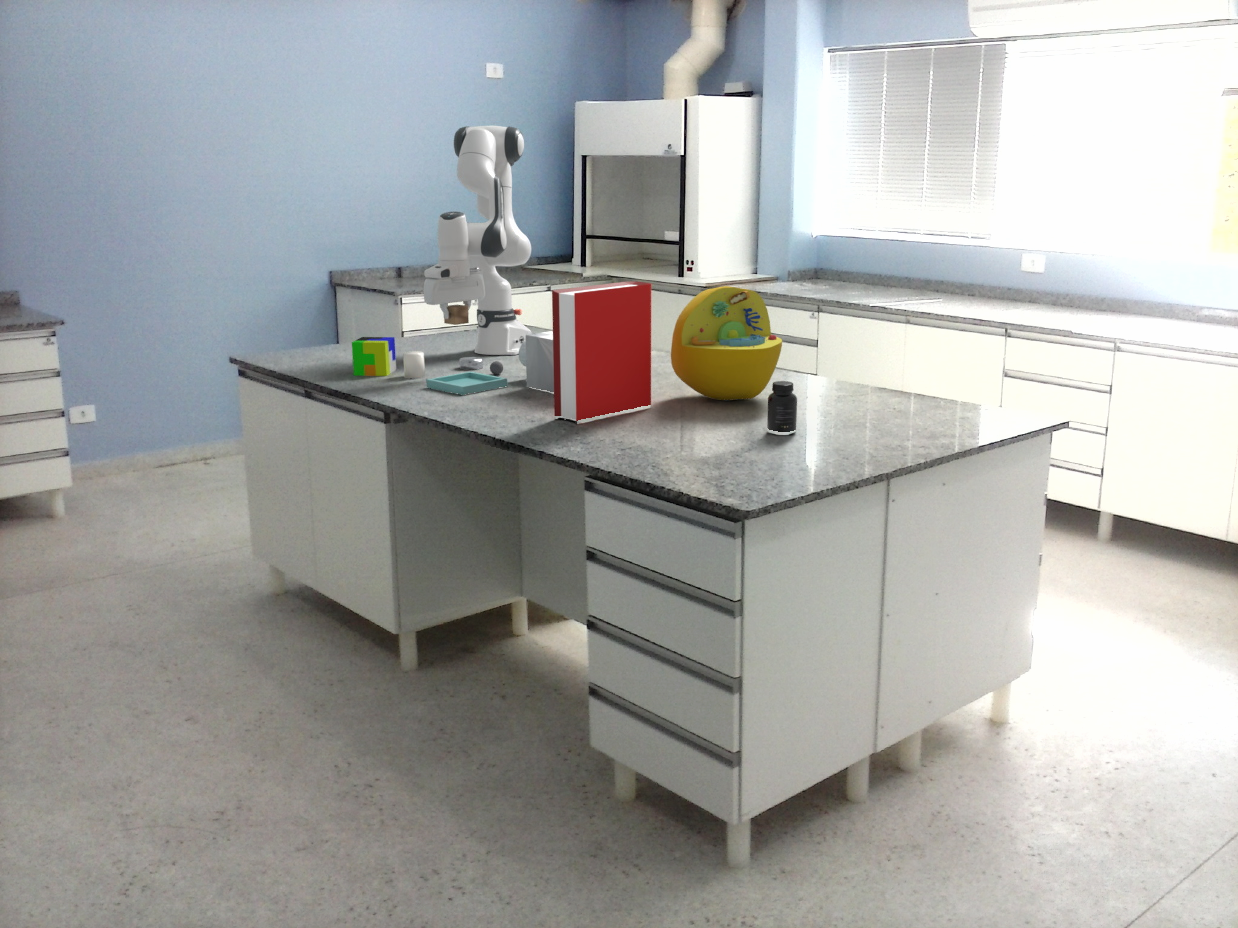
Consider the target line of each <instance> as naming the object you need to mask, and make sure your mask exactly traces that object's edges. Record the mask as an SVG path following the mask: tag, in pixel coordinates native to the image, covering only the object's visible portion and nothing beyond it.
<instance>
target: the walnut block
mask: <svg viewBox="0 0 1238 928" xmlns="http://www.w3.org/2000/svg"><path fill="white" fill-rule="evenodd" d="M447 309H448V312H450V313H451V319H444V318H443V321H444V322H443V323H444V324H446V325H447V324H448V325H454V326H458V325H464V324H470V323H469V319H470V318H469V315H468V313H469V310H468V306H465V304H450V305H449V304H448V307H447Z"/></svg>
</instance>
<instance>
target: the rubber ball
mask: <svg viewBox="0 0 1238 928" xmlns="http://www.w3.org/2000/svg"><path fill="white" fill-rule="evenodd" d="M489 371H490V372H491V374H492V375H494V376H498V375H501V374H502V373H503V371H504V365H503V363H502V362H500V361H498V360H496V361H493V362H491V364H489Z"/></svg>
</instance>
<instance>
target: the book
mask: <svg viewBox="0 0 1238 928" xmlns="http://www.w3.org/2000/svg"><path fill="white" fill-rule="evenodd" d="M551 302H552V304H551V305H552V308H551V310H552V311H551V312H552V316H551V317H552V331H553V367H554V394H553V400H554V401H553V403H554V404H553V410H554V413H553V414H554V416H563V417H566V418H572V419H576V421H578V420H581V419H586V418H592V417H595V416H600V415H605V414H609V413H615V412H620V411H623V410H628V409H634V408H637V407H641V406H648V405H651V406H652V282H645V281H634V280H633V281H629V280H628V281H621V282H613V283H612V282H611V283H604V284H597V285H596V284H595V285H587V286H579V287H578V286H577V287H570V288H561V289H552V290H551Z"/></svg>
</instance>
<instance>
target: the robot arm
mask: <svg viewBox="0 0 1238 928" xmlns="http://www.w3.org/2000/svg"><path fill="white" fill-rule="evenodd" d="M453 150H454V153H455V155H456V156H457V158H458V160H457V165H456V176H457V179H458V181H459V182H460V184H461V185H462V186H463V187H464V188H465V189H466V190H467V191H469V192H472V193H474V194H476V209H477V212H478V213H479V214H480V216H481V217H483V218H484V219H485V220H487V221H485V222H467V218H466V214H465V213H464V212H461V211H446V212H443V213H442V214H440V215H439V217H438V223H437V246H438V249H439V250H438V251H439V252H438V253H439V254H438V261H437V262H438V263H436V264H435V265H433V266H431V267H429V268H427V269H425V270H424V272H423V273H424V274H423V275H424V277H425V278H426V279H424V283H423V300H424V302H425V304H426V305H430V306H436V305H439V308H440V309H441V311H442V315H443V320H444V319H451V313H450V312H448V309H447V307H448V306H449V304H454V303H461V302H462V305H465V306H468V311H470V309H471V306H472V301H476V300H477V308H476V321H477V335H476V343H475V349H474V353H475V354H479V355H487V356H489V355H490V356H498V355H499V356H503V355H504V356H505V355H507V356H515V355H519V349H520V346H521V344H522V343H523V342H524V341H525V340H526V335H527V334H533V332H532V331H531V329H530V328H528V327H527V326H525V325H524V324H523V323H522V322H520V321H519V320H518V319H517V316H521V315H522V314H523V310H522V309H521V308H515V309H513V304H512V303H513V301H512V300H513V299H512V286H511V283H510V282H509V281H508V280H507V279H506V278H503V277H502V275H500V274H499V272H498V271H497V268H496V267H517V266H520V265H524V264H526V263H527V262H528V261H529V259H530V257H531V256H532V255H531V254H532V244H531V241H530V239H529V238H528V236H527V235H526V234H525V233H523V232H522V231H521V229H520V228H519V227H518V225H517V223H516V220H515V218H514V214H513V201H512V200H513V196H512V195H513V194H512V193H513V189H512V188H513V176H512V167H513V166H514V164H515V163H517V162H518V161H519V160H520V159H521V158H522V156H523V153H524V150H525V140H524V136H523V133H522V132H521V130H520V129H519V128H517V127H514V126H503V125H502V126H500V125H492V124H491V125H479V126H469V125H468V126H467V125H466V126H462V127H459V128H458V130H456V132H455V133H454V137H453ZM469 314H470V313H469V312H468V316H469Z"/></svg>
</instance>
